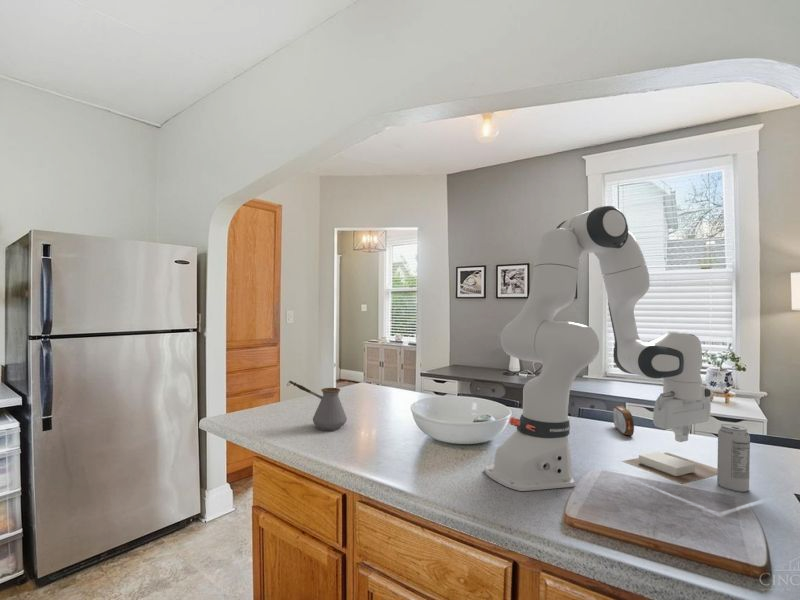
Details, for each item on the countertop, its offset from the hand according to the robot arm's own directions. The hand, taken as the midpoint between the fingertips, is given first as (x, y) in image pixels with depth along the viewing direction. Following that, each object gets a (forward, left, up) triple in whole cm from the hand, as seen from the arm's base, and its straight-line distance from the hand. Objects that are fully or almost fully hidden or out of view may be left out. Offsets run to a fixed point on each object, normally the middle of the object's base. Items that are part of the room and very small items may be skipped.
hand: (681, 441), depth 114 cm
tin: (+15, +29, -7) cm, 34 cm away
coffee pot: (-84, +71, -7) cm, 110 cm away
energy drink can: (-4, -14, -7) cm, 16 cm away
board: (-4, 0, -7) cm, 8 cm away
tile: (-3, 0, -5) cm, 6 cm away
